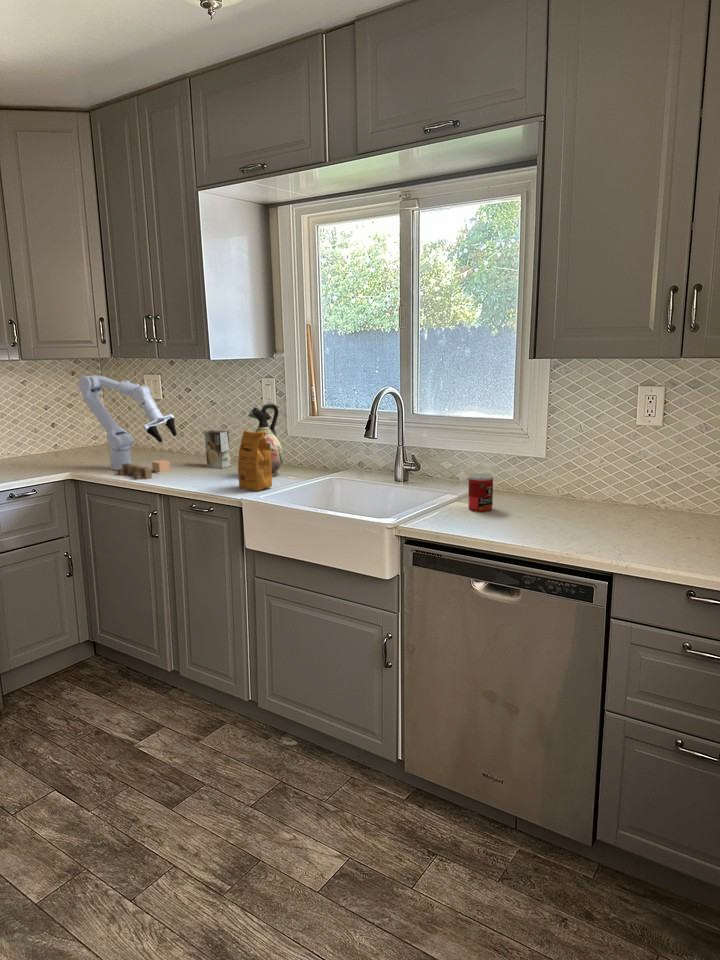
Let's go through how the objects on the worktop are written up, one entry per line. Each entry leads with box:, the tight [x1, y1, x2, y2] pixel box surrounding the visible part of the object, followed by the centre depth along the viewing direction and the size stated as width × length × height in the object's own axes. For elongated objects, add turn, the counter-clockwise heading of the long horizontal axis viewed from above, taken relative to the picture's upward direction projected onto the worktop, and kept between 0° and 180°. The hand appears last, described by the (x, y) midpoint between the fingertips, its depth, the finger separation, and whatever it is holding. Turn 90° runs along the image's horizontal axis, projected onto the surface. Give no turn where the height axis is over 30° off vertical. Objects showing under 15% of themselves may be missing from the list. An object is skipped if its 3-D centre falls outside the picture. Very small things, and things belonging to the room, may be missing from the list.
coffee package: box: [237, 429, 273, 492], centre depth 259 cm, size 10×12×22 cm
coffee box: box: [204, 429, 232, 469], centre depth 306 cm, size 9×6×16 cm
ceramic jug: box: [248, 402, 284, 477], centre depth 283 cm, size 17×15×30 cm
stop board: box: [117, 463, 153, 480], centre depth 289 cm, size 20×5×4 cm, turn 47°
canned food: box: [467, 473, 494, 513], centre depth 222 cm, size 8×8×11 cm
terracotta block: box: [151, 459, 171, 473], centre depth 298 cm, size 6×5×4 cm
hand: (168, 438), depth 297 cm, fingers open, 7 cm apart
